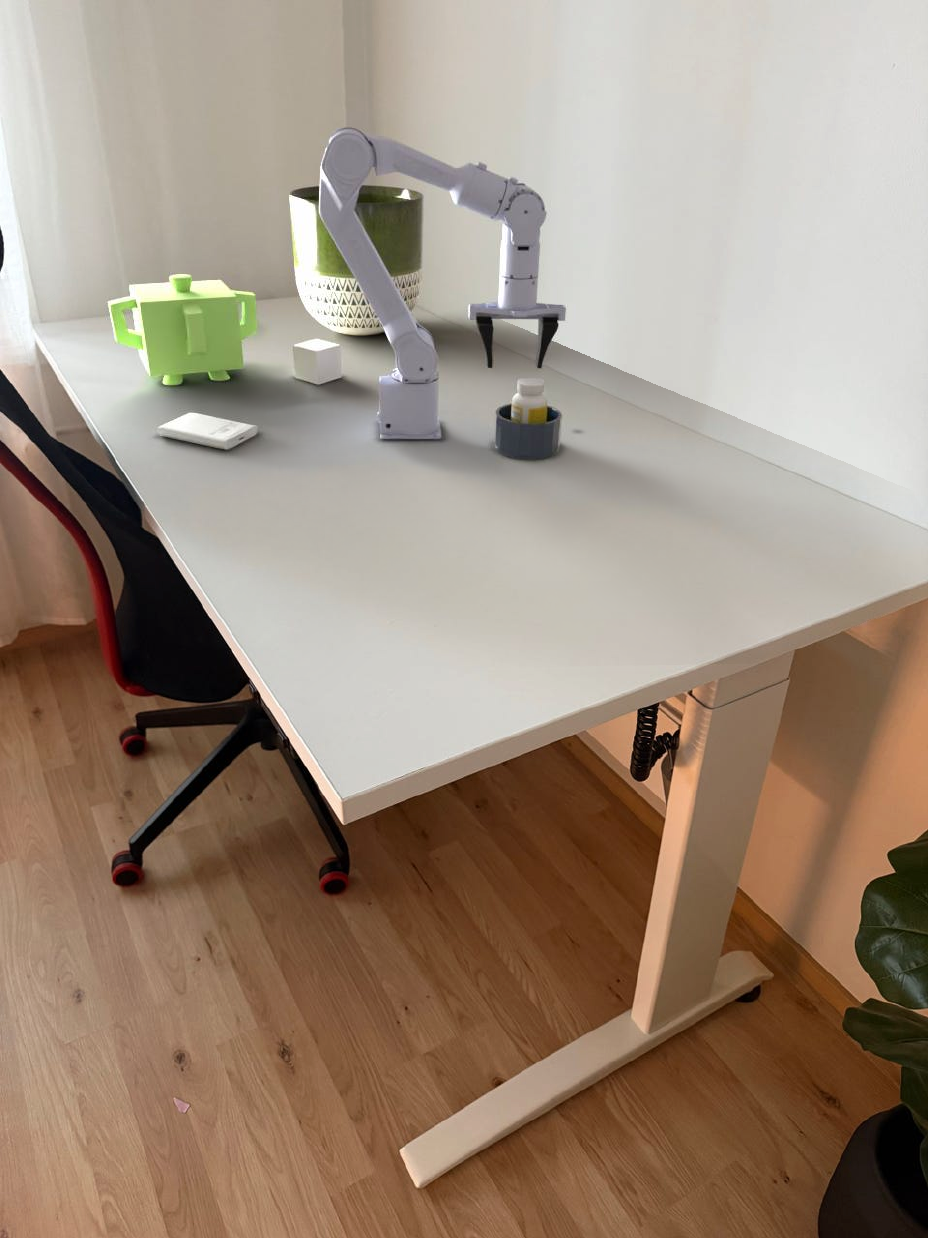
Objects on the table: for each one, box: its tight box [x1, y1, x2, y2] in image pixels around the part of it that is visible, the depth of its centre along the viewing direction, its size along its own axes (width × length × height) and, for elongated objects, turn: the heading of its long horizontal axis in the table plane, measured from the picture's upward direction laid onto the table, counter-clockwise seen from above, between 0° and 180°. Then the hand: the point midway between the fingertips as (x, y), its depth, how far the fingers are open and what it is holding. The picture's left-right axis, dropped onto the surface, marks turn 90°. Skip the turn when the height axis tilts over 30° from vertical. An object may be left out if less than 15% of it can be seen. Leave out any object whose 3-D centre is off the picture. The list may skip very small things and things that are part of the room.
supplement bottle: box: [511, 377, 549, 424], centre depth 143 cm, size 5×5×10 cm
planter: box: [288, 184, 425, 336], centre depth 195 cm, size 27×27×27 cm
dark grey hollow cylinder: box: [493, 402, 563, 461], centre depth 145 cm, size 10×10×6 cm
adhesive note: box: [292, 338, 342, 385], centre depth 172 cm, size 6×6×6 cm
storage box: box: [107, 273, 259, 386], centre depth 169 cm, size 25×23×17 cm
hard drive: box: [158, 412, 258, 451], centre depth 146 cm, size 2×8×12 cm
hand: (514, 366), depth 147 cm, fingers open, 7 cm apart
